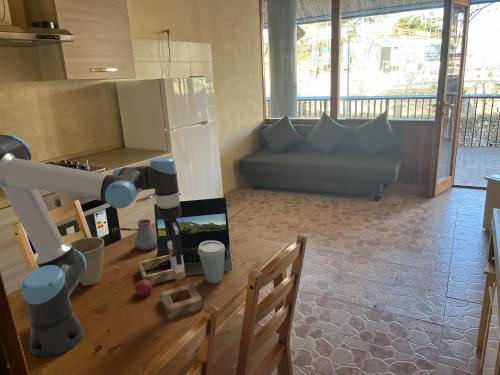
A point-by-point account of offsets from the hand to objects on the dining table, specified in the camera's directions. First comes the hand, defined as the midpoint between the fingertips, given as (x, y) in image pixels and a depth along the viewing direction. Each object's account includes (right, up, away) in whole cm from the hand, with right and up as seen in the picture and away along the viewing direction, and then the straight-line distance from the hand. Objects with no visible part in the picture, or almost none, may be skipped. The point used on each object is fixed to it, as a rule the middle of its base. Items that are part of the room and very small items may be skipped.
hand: (177, 268), depth 132 cm
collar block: (+1, -14, +4) cm, 14 cm away
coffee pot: (-27, -2, +48) cm, 55 cm away
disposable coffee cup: (+11, -9, +19) cm, 24 cm away
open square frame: (-12, -8, +26) cm, 30 cm away
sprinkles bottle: (0, -3, +1) cm, 3 cm away
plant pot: (-40, -10, +24) cm, 47 cm away
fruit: (-14, -13, +12) cm, 22 cm away
